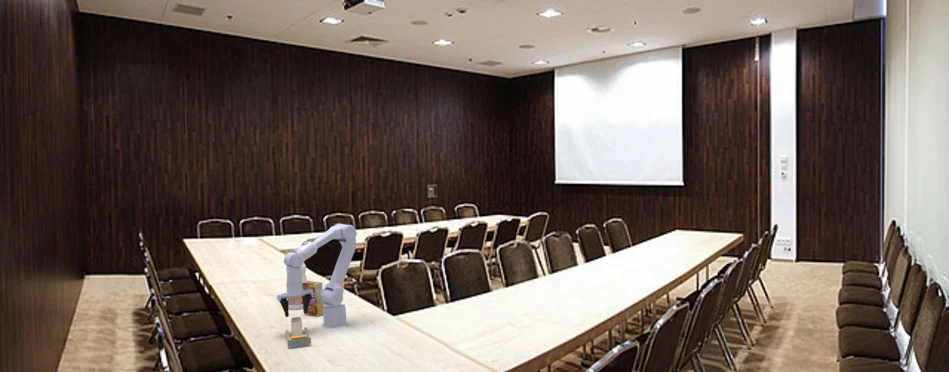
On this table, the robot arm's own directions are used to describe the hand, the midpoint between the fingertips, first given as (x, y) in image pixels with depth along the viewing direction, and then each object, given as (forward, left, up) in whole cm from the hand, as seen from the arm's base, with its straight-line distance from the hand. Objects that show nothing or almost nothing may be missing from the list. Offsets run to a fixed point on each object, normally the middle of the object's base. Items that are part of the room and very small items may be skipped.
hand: (296, 314), depth 241 cm
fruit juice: (-3, -45, -9) cm, 46 cm away
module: (0, +1, -8) cm, 8 cm away
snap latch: (0, +15, -8) cm, 17 cm away
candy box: (-9, -28, -9) cm, 31 cm away
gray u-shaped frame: (0, +8, -8) cm, 11 cm away
